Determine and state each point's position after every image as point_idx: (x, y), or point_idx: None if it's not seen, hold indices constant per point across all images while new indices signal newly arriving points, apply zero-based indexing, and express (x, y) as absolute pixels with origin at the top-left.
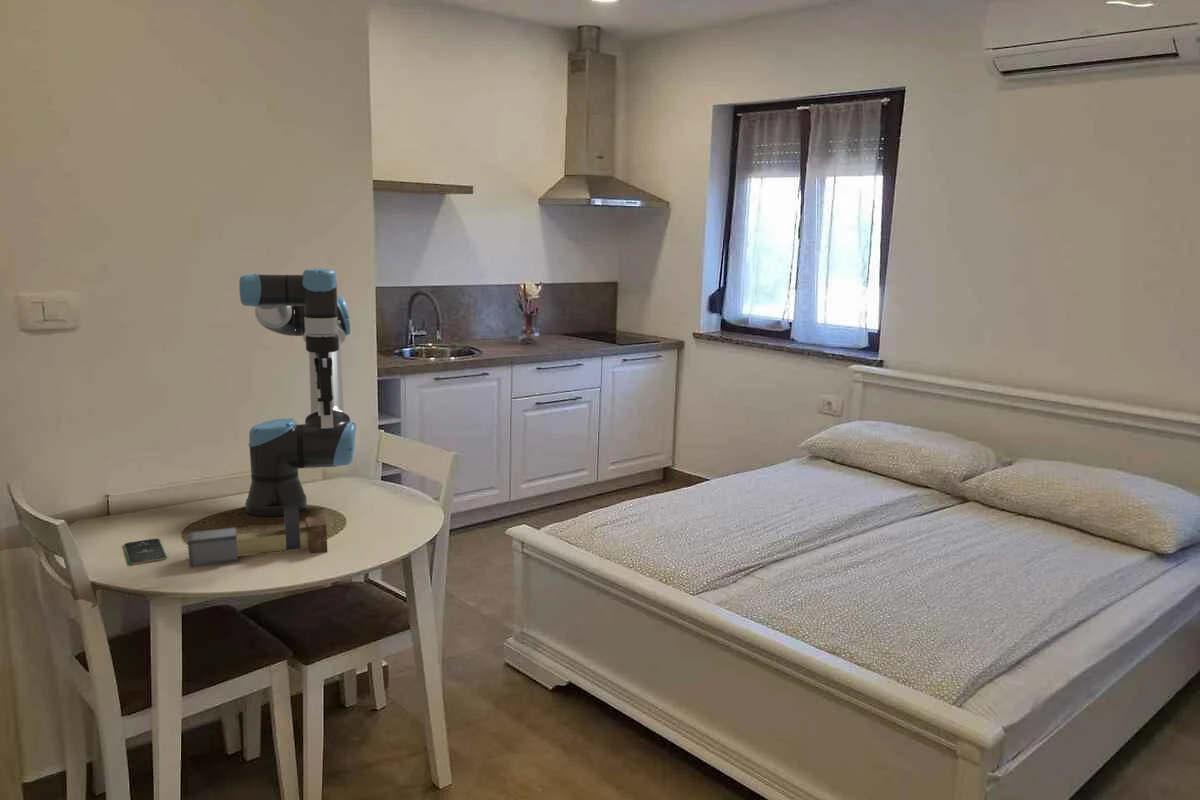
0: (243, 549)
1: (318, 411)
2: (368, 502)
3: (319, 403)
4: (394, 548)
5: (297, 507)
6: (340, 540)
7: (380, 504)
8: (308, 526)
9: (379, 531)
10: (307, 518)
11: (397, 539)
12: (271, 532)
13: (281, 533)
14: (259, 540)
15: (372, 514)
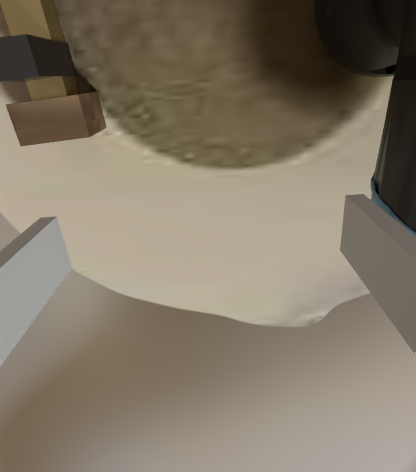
0: None
1: (354, 205)
2: None
3: (375, 234)
4: None
5: (18, 77)
6: (114, 158)
7: (323, 232)
8: (7, 105)
9: (156, 227)
10: (69, 99)
11: (108, 254)
12: (28, 5)
13: (20, 34)
14: None
15: (262, 217)
